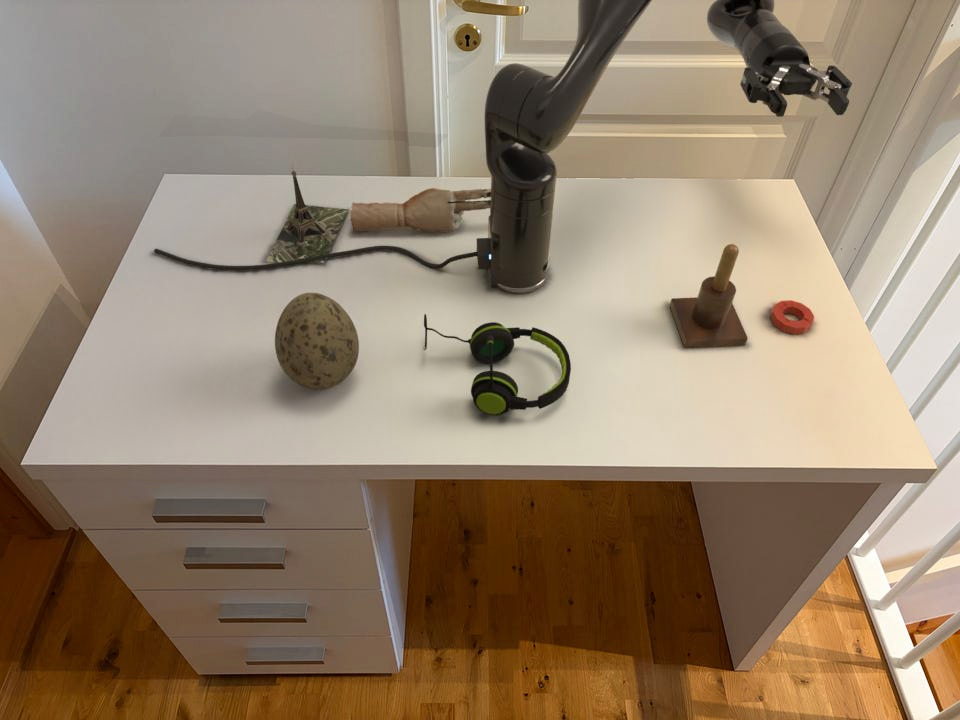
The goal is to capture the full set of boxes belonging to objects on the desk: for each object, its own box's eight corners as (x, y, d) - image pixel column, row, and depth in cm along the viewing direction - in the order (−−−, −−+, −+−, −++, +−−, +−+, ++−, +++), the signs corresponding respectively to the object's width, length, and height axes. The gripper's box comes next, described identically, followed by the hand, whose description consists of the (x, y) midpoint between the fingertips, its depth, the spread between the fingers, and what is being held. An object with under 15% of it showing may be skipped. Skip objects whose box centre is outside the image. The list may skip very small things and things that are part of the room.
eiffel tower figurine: (326, 266, 117) (313, 197, 107) (265, 261, 117) (246, 191, 108) (349, 211, 127) (339, 142, 117) (293, 206, 127) (277, 138, 118)
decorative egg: (335, 418, 96) (317, 340, 85) (269, 390, 99) (243, 310, 88) (378, 365, 102) (367, 285, 91) (315, 340, 106) (297, 260, 95)
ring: (778, 335, 107) (781, 328, 106) (765, 308, 111) (767, 301, 110) (816, 333, 107) (820, 326, 106) (801, 306, 111) (804, 299, 110)
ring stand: (684, 348, 105) (709, 268, 94) (669, 305, 111) (691, 226, 100) (745, 345, 106) (777, 266, 95) (726, 303, 112) (754, 223, 101)
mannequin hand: (363, 224, 128) (505, 221, 125) (353, 241, 122) (502, 238, 119) (357, 185, 124) (503, 180, 121) (346, 200, 118) (500, 196, 115)
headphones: (421, 287, 99) (567, 285, 100) (425, 336, 106) (560, 334, 107) (418, 375, 88) (581, 372, 89) (422, 423, 96) (573, 420, 96)
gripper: (734, 32, 108) (771, 85, 97) (827, 30, 108) (874, 82, 98) (721, 80, 113) (755, 136, 102) (810, 78, 114) (853, 133, 103)
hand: (813, 109), depth 100 cm, fingers open, 8 cm apart
